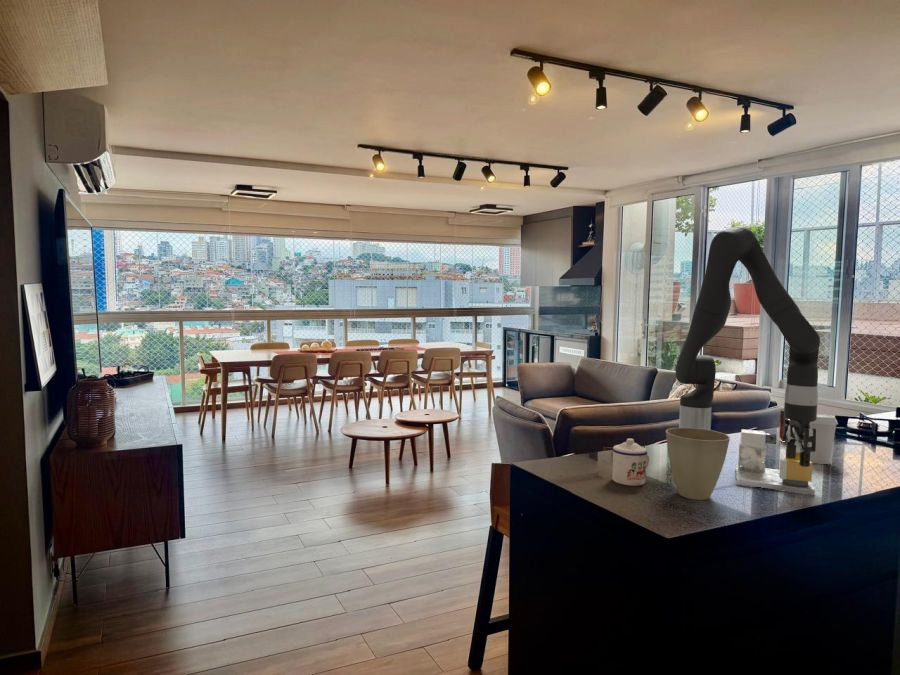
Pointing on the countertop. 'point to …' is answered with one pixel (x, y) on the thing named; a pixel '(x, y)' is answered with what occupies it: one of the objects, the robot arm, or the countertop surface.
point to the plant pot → (696, 460)
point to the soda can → (782, 424)
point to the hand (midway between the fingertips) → (797, 461)
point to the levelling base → (767, 483)
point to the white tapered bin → (823, 438)
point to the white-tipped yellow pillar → (795, 472)
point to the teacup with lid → (629, 463)
